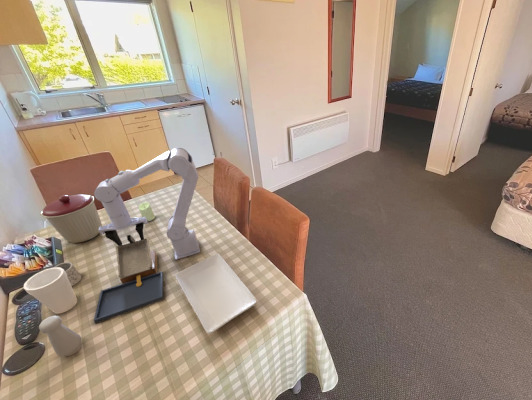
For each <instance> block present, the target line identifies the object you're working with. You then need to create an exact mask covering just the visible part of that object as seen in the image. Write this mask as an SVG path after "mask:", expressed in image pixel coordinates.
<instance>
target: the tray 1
mask: <svg viewBox="0 0 532 400" xmlns="http://www.w3.org/2000/svg"><path fill="white" fill-rule="evenodd" d="M141 282H142V285H141V286H140V287H137V286H136V283H137V279H136V280H133V281H130V282H127V283H124V284H122V283H121V284H118V285H115V286H111V287H108V288H105V289H101V290H100V293H99V297H98V301H97V305H96V310H95V314H94V318H93V322H94V323H95V324H98V323H100V322H104V321H107V320H109V319H112V318H115V317H117V316H120V315H124V314H127V313H129V312H132V311H136V310H138V309H141V308H143V307H146V306H149V305H152V304H154V303H157V302H159V301H163V300H164V299H165V298H164V297H165V296H164V295H165V294H164V293H165V292H164V291H165V289H164V272H163V271H159V272H158V271H157V273H155V274H152V275H149V276H146V277H143V278H141Z"/></svg>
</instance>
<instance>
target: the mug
mask: <svg viewBox="0 0 532 400" xmlns="http://www.w3.org/2000/svg"><path fill="white" fill-rule="evenodd" d="M54 267H60V268H62V269H64V271H65V272H66V274H67V277H68V280H69V282H70V284H71V287H73V286H75V285H76V284H78V283H79V282H80V281H81V279H82V275H81V274H80V273H79V271H78V270H77V269H76V267H75V266H74V263H73V262H71V261H65V262H61V263H59V264H57V265H54Z"/></svg>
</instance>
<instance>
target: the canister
mask: <svg viewBox="0 0 532 400" xmlns="http://www.w3.org/2000/svg"><path fill="white" fill-rule="evenodd" d="M39 215H40V216H41V217H42V218H44V219H46V220H47V222H48V223H49V224H50V225H51V226H52V227H53V228H54V229H55V231H56V232H57V233H58V234H59V235H60V236H61V237H62V238H63V239H64V240H65V241H67V242H69V243H73V244H77V243H83V242H87V241H90V240H92V239H94V238H95V237H97V236H98V235H99V234H100V232H99V227H102V226H103V224H102V221H101V218H100V215H99V212H98V210H97V207H96V203H95V196H94V195H91V194H73V195H68V194H63V195H60V196H59V197H58V199H55V200H54V201H51V202H50V203H48V204H46V205H45V206H44V207H43V208H42V209H41V211H40V212H39Z"/></svg>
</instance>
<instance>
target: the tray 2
mask: <svg viewBox="0 0 532 400" xmlns="http://www.w3.org/2000/svg"><path fill="white" fill-rule="evenodd" d="M174 278H175V279H176V281H177V282H178V284H179V286H180V288H181V290H182V292H183V293H184V295H185V297H186V299H187V301H188V302H189V304H190V306H191V307H192V310H193V311H194V313H195V314H196V317H197V319H198V320H199V322H200V324H201V326H202V328H203V329H204V332H205V333H207V334H208V335H210V334H213V333H214V332H216V331H218V330H219V329H220V328H221V327H223V326H224V325H226V324H227V323H229V322H230V321H232V320H234V319H235V318H236V317H238V316H239V315H241V314H243V313H244V312H246V311H248V310H250V309H251V308H252V307H254V306H255V305H257V303H258V300H257V298H256V297H255V295H254V294H253V292H251V291H250V289H249V288H248V287H247V285H246V284H245V283H244V282H243V280H242V279H241V278H240V277H239V275H238V274H237V273H236V272H235V271H234V269H232V267H231V266H230V265H229V264H228V262H226V260H225V259H224V257H223V256H222V255H221V254H220V253H219V252H218V253H214V254H212V255H210V256H208V257H206V258H205V259H203V260H200V261H198V262H196V263H194V264H192V265H190V266H188V267H186V268H184V269H182V270H180V271H178V272H176V273H175V274H174Z"/></svg>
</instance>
